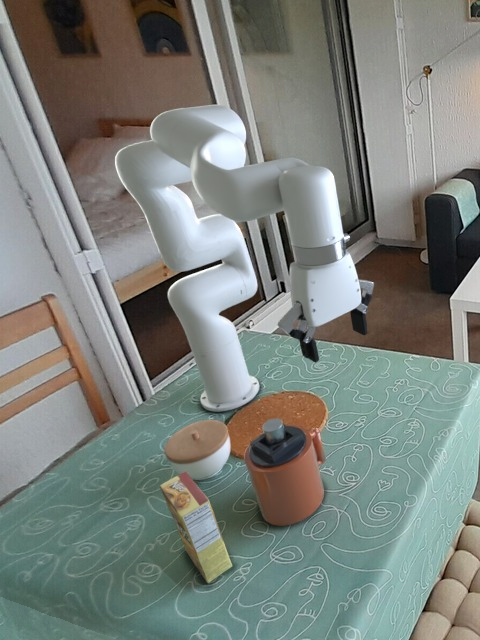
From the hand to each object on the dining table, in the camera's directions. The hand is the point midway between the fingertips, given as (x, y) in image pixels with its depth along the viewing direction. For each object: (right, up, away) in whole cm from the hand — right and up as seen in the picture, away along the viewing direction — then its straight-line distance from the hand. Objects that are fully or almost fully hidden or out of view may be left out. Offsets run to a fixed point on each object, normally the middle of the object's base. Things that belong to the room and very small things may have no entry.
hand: (337, 345), depth 83 cm
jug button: (-11, -16, +2) cm, 20 cm away
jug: (-10, -29, +10) cm, 33 cm away
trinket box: (-31, -27, +16) cm, 44 cm away
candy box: (-21, -35, -1) cm, 41 cm away
